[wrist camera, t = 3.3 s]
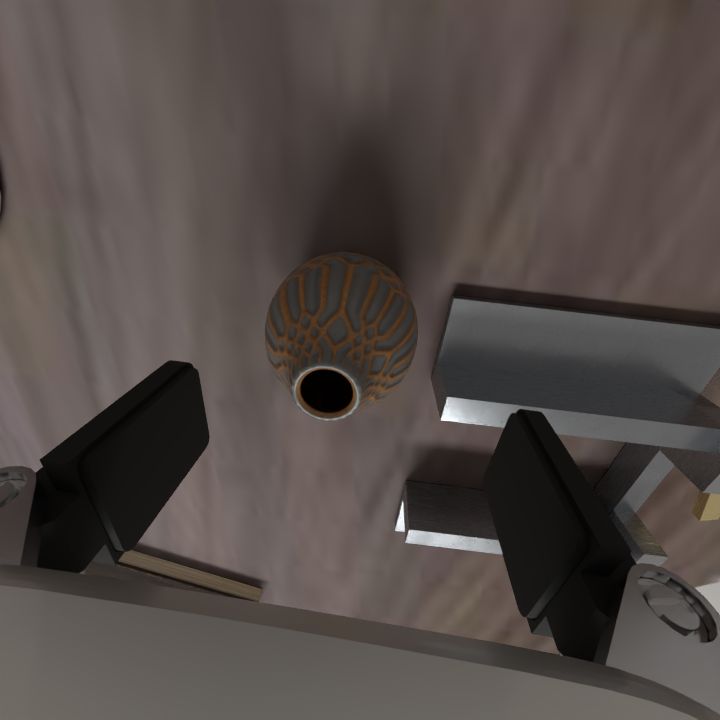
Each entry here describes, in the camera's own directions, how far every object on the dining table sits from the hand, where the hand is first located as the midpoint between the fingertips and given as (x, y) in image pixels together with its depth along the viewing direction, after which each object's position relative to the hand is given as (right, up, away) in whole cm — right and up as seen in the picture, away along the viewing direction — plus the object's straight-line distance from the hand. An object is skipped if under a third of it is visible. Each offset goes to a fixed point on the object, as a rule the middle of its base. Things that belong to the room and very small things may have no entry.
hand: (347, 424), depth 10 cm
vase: (0, +5, +9) cm, 10 cm away
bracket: (+11, -4, +13) cm, 18 cm away
